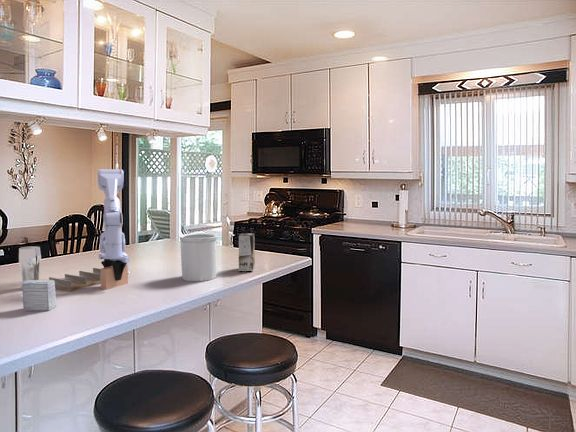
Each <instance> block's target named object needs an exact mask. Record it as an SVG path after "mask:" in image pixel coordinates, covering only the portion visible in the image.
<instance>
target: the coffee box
mask: <svg viewBox="0 0 576 432" xmlns="http://www.w3.org/2000/svg"><path fill="white" fill-rule="evenodd" d="M255 240H256V239H255V233H254V232H253V233H252V232H250V233H248V232H245V233H240V234H239V235H238V272H239V271H253V272H254V270H253V269H255V268H254V267H255V261H256V260H255V255H256V254H255V247H256V246H255V243H256V242H255Z"/></svg>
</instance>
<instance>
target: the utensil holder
mask: <svg viewBox="0 0 576 432" xmlns="http://www.w3.org/2000/svg"><path fill="white" fill-rule="evenodd" d="M179 240H180V241H179V242H180V258H181V259H180V261H181V278H182V279H183V280H184V281H187V282H207V280H208V281H212V280H214V279H215V278H217V240H218V235H217V234H215V233H207V232H201V233H199V232H195V233H185V234H181V235H179Z"/></svg>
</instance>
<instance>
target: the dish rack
mask: <svg viewBox="0 0 576 432" xmlns="http://www.w3.org/2000/svg"><path fill="white" fill-rule="evenodd" d="M78 273H79V275H76V274H75V275H74V274H68V273H65V274H64V279H63V278H58V277H57V278H56V277H51V276H50V277H49V278H48V280H54V281H55V290H56V289H57V290H61V291H67V292H72V291H76V290H81V289H84V288H89V287H93V286H97V285H101V268H96V267H92V271H91V272H89V271H83V270H79V271H78Z"/></svg>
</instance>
